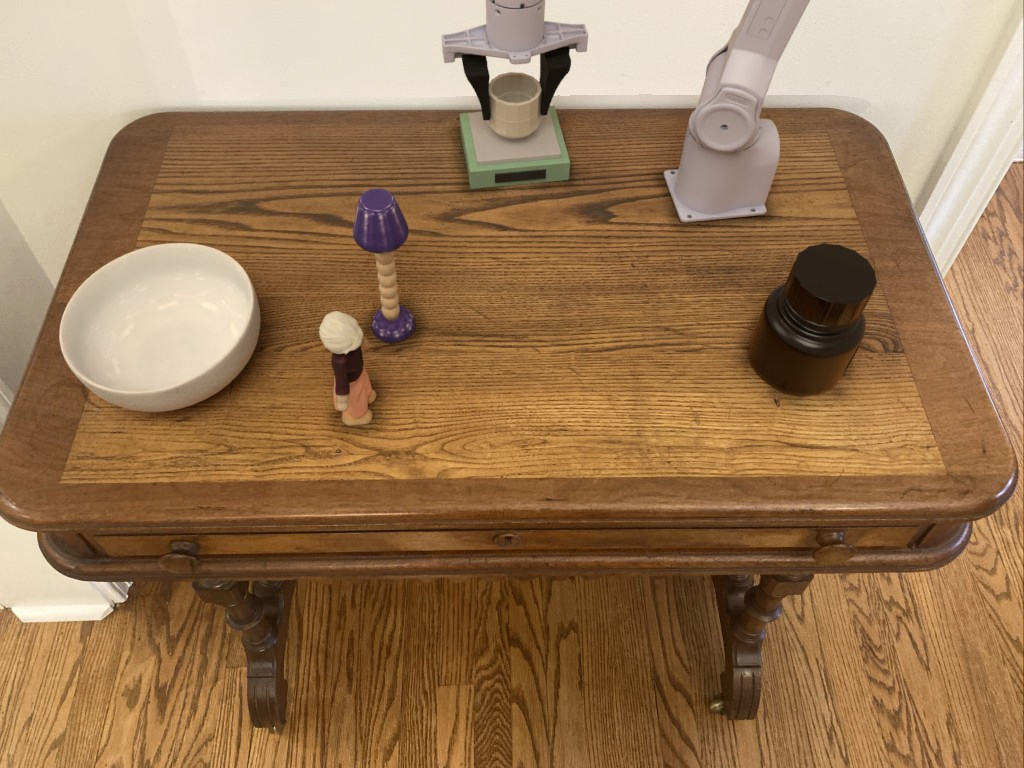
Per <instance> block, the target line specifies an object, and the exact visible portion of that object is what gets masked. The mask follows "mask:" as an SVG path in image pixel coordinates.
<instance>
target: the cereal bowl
mask: <svg viewBox="0 0 1024 768" xmlns="http://www.w3.org/2000/svg"><path fill="white" fill-rule="evenodd" d="M260 308H261V307H260V305H259V299H258V296H257V292H256V290H255V286H254V284H253V282H252V280H251V277H250V276H249V274H248V273H247V272H246V269H244V267H243V266H242V265H241V263H239V262H238V261H237V260H236V259H234V258H233V257H231V256H230V255H229V254H227V253H225V252H223V251H221V250H220V249H217V248H214V247H211V246H207V245H204V244H199V243H192V242H191V243H190V242H169V243H162V244H154V245H149V246H145V247H142V248H139V249H135V250H133V251H130V252H128V253H125V254H123V255H121V256H119V257H117V258H115V259H113V260H111V261H110V262H108V263H106V264H104V265H103V266H101V267H100V268H99V269H97V270H95V271H94V272H93V273H92V274H91V275H90V276H88V278H86V279H85V280H84V281H83V282H82V283H81V285H80V286H79V287H78V288H77V289H76V290H75V292H74V293H73V295H71V297H70V299H69V301H68V303H67V304H66V306H65V309H64V311H63V313H62V317H61V319H60V323H59V324H60V325H59V331H58V333H59V334H58V336H59V346H60V351H61V354H62V356H63V358H64V360H65V363H66V364H67V365H68V367H69V369H70V370H71V372H72V373H73V374H74V376H75V377H76V378H77V379H78V380H79V381H80V382H81V383H82V384H83V385H84V386H85V387H86V388H87V389H88V390H89V391H90V392H92V393H93V394H94V395H96V396H97V397H99V398H100V399H102V400H103V401H106V403H107V402H108V403H109V404H111V405H114V406H117V407H118V408H123V409H125V410H130V411H134V412H142V413H162V412H170V411H171V412H172V411H175V410H179V409H185V408H187V407H190V406H194V405H195V404H198V403H200V402H203V401H205V400H207V399H209V398H210V397H212V396H213V397H214V395H215V394H218V393H219V392H221V391H222V390H223V389H224V388H226V387H227V386H228V385H230V384H231V383H232V381H234V380H235V379H236V378H237V377H238V376H239V374H240V373H241V372H242V371H243V369H244V368H245V366H246V365H247V364H248V363H249V360H250V359H251V358H252V356H253V353H254V351H255V349H256V346H257V344H258V341H259V336H260V331H261V321H262V320H261V309H260Z"/></svg>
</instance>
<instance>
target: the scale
mask: <svg viewBox="0 0 1024 768" xmlns="http://www.w3.org/2000/svg"><path fill="white" fill-rule="evenodd" d="M459 129H460V130H459V132H460V137H461V143H462V148H463V149H462V150H463V154H464V160H465V165H466V171H467V177H468V182H469V189H470V190H476V189H487V188H498V187H508V186H509V187H510V186H520V185H528V184H539V183H540V184H541V183H552V182H560V181H561V182H562V181H563V182H564V181H569V180H570V172H571V159H570V156H569V153H568V148H567V145H566V141H565V140H564V134H563V131H562V128H561V123H560V121H559V117H558V113H557V109H556V107H555V105H550V106H549V110H548V114H547V115H543V116H541V118H540V124H539V126H538V128H537V129H536V130H535V131H533V132H532V133H531V134H530V135H528V136H526V137H523V138H517V139H512V138H506V137H503V136H501V135H499V134H497V133H496V132H495V131H494V130H493V129H492V128H491V127H490V126H489V121H488V120H485V121H484V120H483V115H482V111H474V112H472V111H471V112H463V113H459Z"/></svg>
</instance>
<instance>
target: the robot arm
mask: <svg viewBox="0 0 1024 768" xmlns="http://www.w3.org/2000/svg"><path fill="white" fill-rule="evenodd" d="M810 1H811V0H749V2H748V4H747V6H746V8H745V10H744V12H743V15H742V17H741V19H740V21H739V23H738V25H737V26H736V27H735V28H733V30H732V33H731V35H730V37H729V39H728V41H727V42H726V43H725V45H724V46H723V47H721V48H720V49H719V50H717V51H716V52H715V53H714V54H713V55H712V56H711V57H710V59H709V61H708V63H707V65H706V70H705V78H704V81H703V85H702V89H701V93H700V96H699V99H698V101H697V102H698V103H697V106H696V108H695V109H694V110H693V111H692V112H691V113H690V116H689V119H688V122H687V128H686V132H685V137H684V141H683V145H682V146H683V147H682V149H681V156H680V160H679V164H678V168H677V169H667V170H664V172H663V179H664V181H665V184H666V186H667V188H668V192H669V194H670V197H671V199H672V203H673V205H674V208H675V210H676V213H677V216H678V218H679V220H680V222H682V223H685V224H686V223H694V222H705V221H713V220H714V221H716V220H725V219H726V220H727V219H734V218H743V217H744V218H745V217H754V216H764V215H765V214H766V213H767V207H766V203H767V199H768V197H769V194H770V190H771V187H772V184H773V182H774V178H775V175H776V173H777V169H778V166H779V163H780V156H781V140H780V139H781V138H780V135H779V131H778V128H777V126H776V124H775V123H774V121H773V120H772V119H769V118H760V117H761V114H762V109H763V103H764V101H765V99H766V96H767V94H768V92H769V89H770V87H771V86H770V85H771V83H772V80H773V77H774V74H775V71H776V69H777V67H778V64H779V61H780V59H781V57H782V55H783V53H784V51H785V49H786V48H787V46H788V44H789V42H790V40H791V38H792V36H793V34H794V32H795V30H796V28H797V27H798V24H799V23H800V21H801V19H802V17H803V15H804V14H805V11H806V9H807V7H808V5H809V4H810ZM545 11H546V0H485V24H481V25H478V26H474V27H470V28H467V29H464V30H461V31H457V32H451V33H445V34H441V50H442V57H443V63H445V64H450V63H454V62H456V59H461V62H462V63H461V64H462V69H463V73H464V75H465V77H466V79H467V81H468V83H469V84H470V85H471V88H472V89H473V91H474V93H475V95H476V97H477V99H478V102H479V105H480V110H481V112H482V115H483V120H484V121H485V120H490V106H489V83H490V72H489V65H488V58H487V57H490V58H498V59H506V60H508V61H509V63H510V65H525V64H526V65H527V64H530V63H531V61H532V57H536V56H538V55H539V80H538V82H540V85H541V89H542V97H541V116H543V115H547V114H548V110H549V106H551V103H552V101H553V98H554V96H555V93H556V92H557V89H558V88H559V86H560V84H561V83H562V81H563V80H564V79H565V77H566V76H567V75H568V74H569V72H570V71H571V68H572V59H571V55H570V51H571V50H575V52H577V53H586V52H588V41H589V33H588V30H587V27H586V24H585V23H563V22H558V21H557V22H556V21H549V20H548V21H547V20H545V14H546V13H545Z"/></svg>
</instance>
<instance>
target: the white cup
mask: <svg viewBox="0 0 1024 768" xmlns="http://www.w3.org/2000/svg"><path fill="white" fill-rule="evenodd" d="M541 97H542V89H541V85H540V82H539V80H538V79H537V78H535V77H534V76H532V75H530V74H527V73H525V72H517V71H515V72H514V71H510V72H506V73H500V74H498V75H497V76H495V77H494V78H492V79H491V80H490V81H489V106H490V120H488V121H489V126H490V127H491V128H492V129H493V130H494V131H495V132H496V133H497V134H499V135H501V136H503V137H506V138H512V139H517V138H523V137H526V136H528V135H530V134H531V133H532V132H533V131H535V130H536V129H537V128H538V126H539V124H540V118H541Z"/></svg>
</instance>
